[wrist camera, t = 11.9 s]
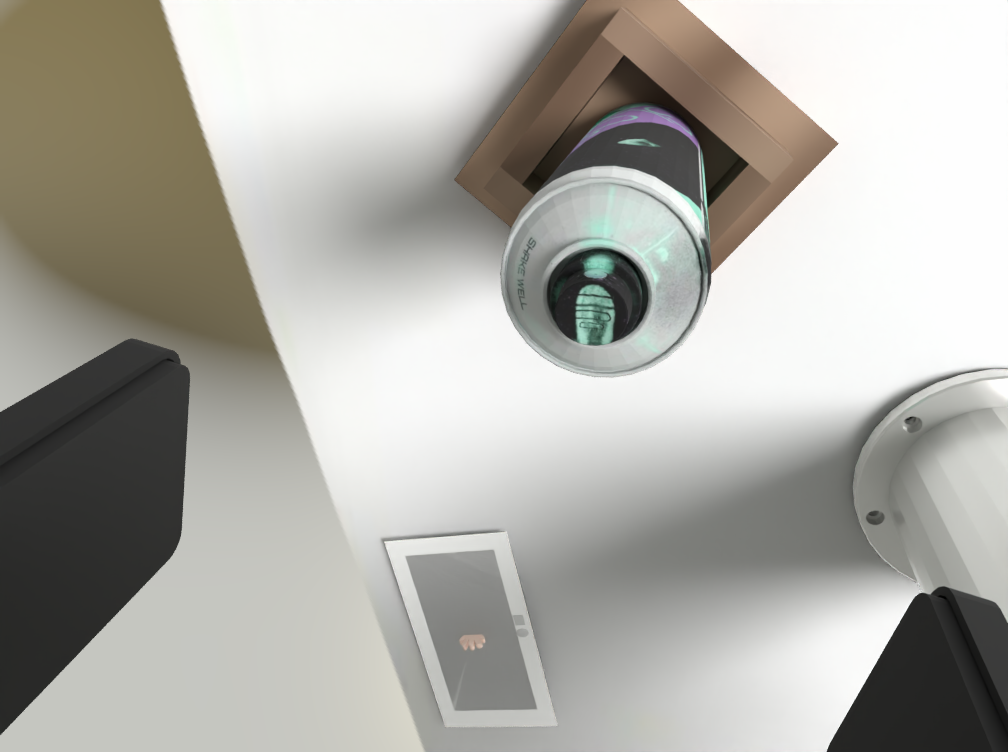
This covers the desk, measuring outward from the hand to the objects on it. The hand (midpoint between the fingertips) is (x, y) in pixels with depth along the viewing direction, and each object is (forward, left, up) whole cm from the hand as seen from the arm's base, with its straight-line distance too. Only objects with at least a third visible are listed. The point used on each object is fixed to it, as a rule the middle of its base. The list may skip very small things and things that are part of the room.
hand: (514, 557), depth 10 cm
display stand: (0, 0, -31) cm, 31 cm away
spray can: (0, 0, -30) cm, 30 cm away
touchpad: (-11, +29, -32) cm, 44 cm away
